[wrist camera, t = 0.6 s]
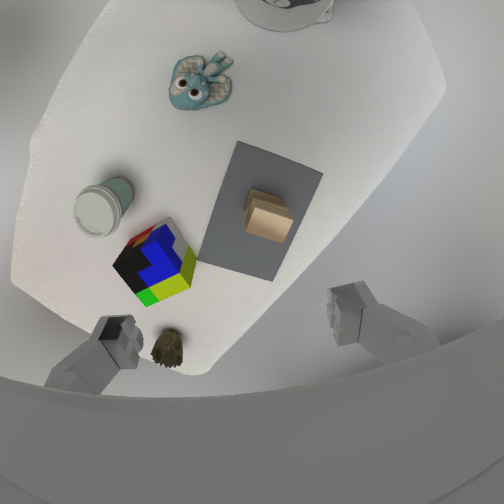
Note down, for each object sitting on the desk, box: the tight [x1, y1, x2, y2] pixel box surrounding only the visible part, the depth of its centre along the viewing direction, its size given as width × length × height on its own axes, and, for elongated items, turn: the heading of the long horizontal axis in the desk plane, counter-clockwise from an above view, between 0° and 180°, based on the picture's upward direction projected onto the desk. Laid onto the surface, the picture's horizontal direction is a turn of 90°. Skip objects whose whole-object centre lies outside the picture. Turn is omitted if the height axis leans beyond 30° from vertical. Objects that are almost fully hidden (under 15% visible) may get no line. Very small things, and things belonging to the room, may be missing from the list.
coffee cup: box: [73, 177, 134, 238], centre depth 41 cm, size 8×9×12 cm
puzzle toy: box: [112, 217, 197, 307], centre depth 49 cm, size 10×10×10 cm
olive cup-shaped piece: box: [151, 330, 183, 368], centre depth 61 cm, size 8×7×8 cm
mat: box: [197, 141, 323, 282], centre depth 51 cm, size 24×16×1 cm, turn 160°
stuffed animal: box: [169, 51, 233, 110], centre depth 36 cm, size 11×7×12 cm
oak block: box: [244, 188, 293, 244], centre depth 45 cm, size 4×6×10 cm, turn 70°
